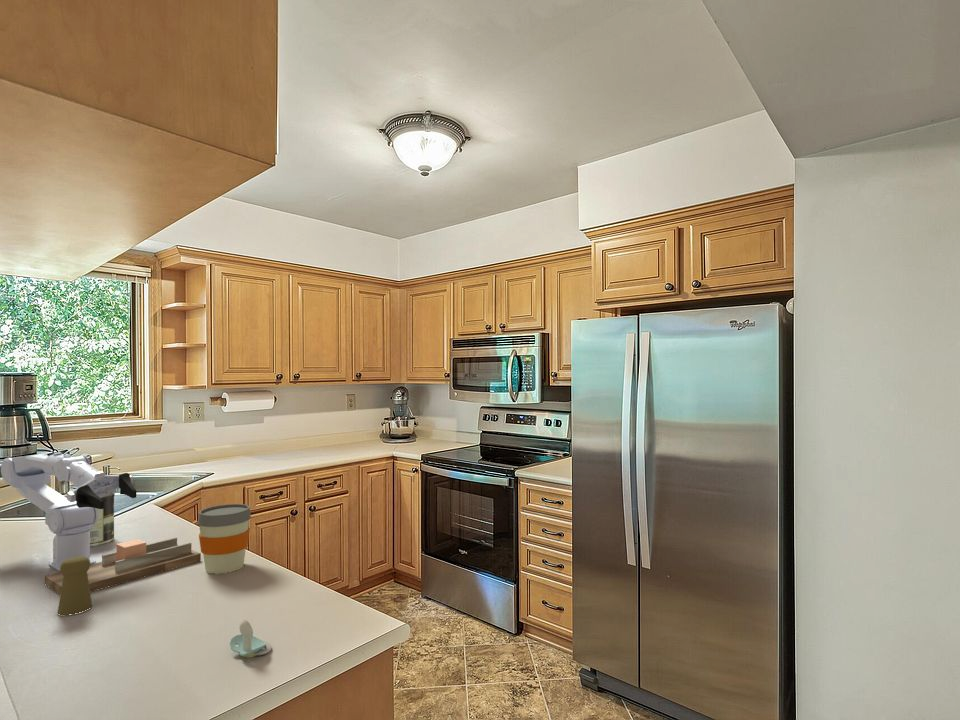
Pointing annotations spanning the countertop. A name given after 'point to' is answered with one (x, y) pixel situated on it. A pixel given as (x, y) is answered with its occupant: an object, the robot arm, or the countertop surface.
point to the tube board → (133, 565)
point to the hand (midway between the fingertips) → (118, 499)
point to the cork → (75, 586)
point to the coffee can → (104, 523)
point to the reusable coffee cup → (224, 536)
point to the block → (130, 549)
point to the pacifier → (248, 642)
